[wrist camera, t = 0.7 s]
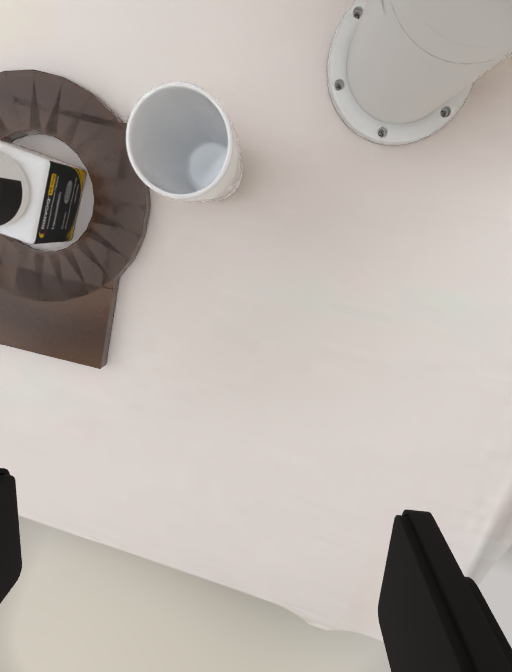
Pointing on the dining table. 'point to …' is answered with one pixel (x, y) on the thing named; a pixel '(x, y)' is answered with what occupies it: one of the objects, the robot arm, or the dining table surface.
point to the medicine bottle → (37, 195)
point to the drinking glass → (184, 144)
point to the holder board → (96, 242)
